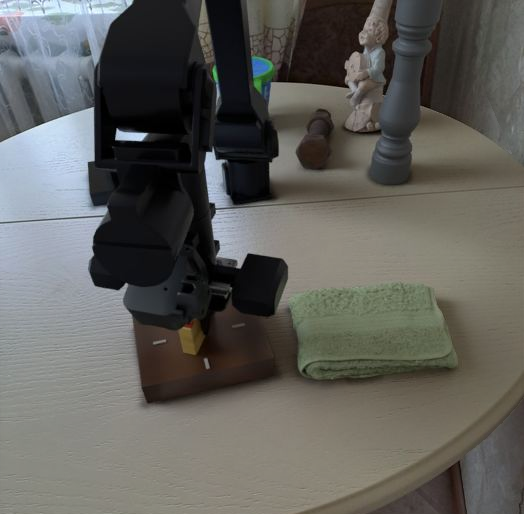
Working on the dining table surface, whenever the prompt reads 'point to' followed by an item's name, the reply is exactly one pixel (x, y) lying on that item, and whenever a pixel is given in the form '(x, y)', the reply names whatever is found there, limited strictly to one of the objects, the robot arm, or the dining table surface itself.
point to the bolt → (316, 141)
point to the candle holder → (404, 90)
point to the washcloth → (370, 331)
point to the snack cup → (259, 76)
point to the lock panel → (202, 356)
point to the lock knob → (191, 337)
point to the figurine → (368, 71)
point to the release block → (101, 184)
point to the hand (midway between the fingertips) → (199, 331)
